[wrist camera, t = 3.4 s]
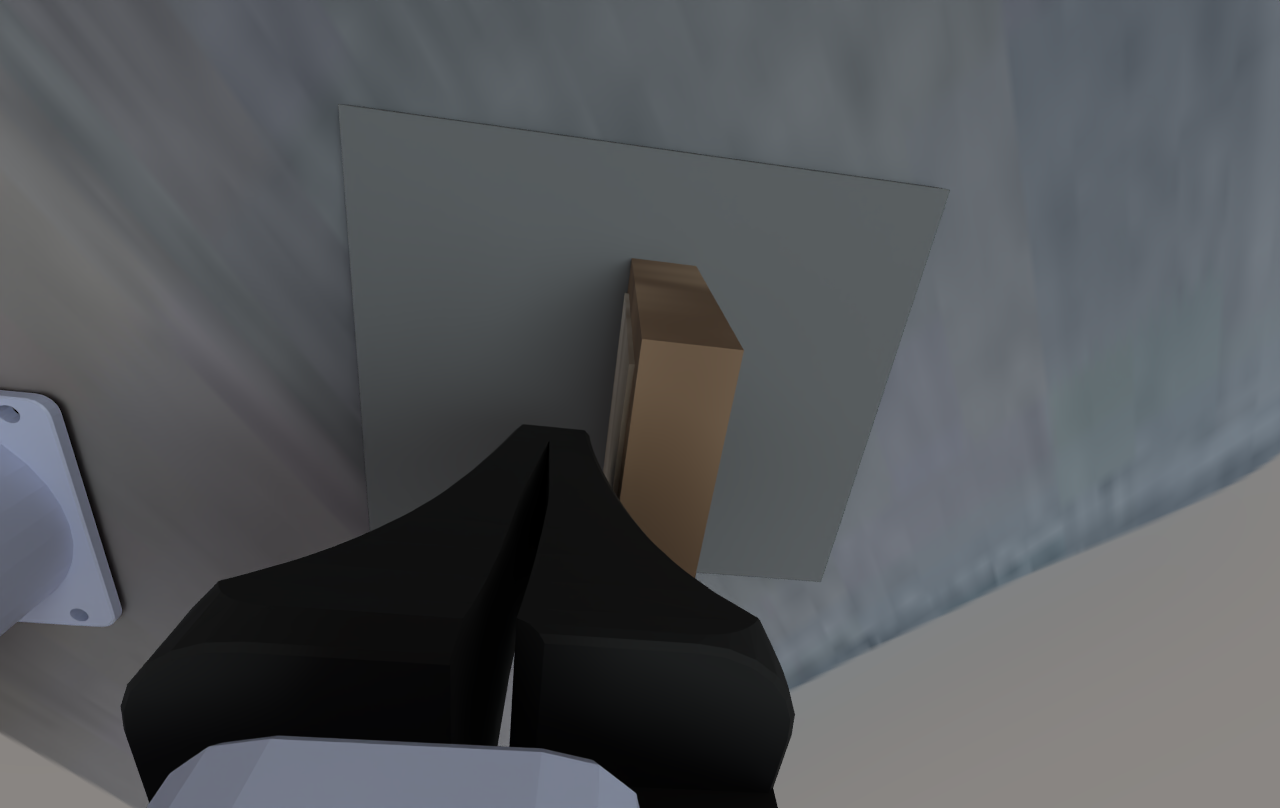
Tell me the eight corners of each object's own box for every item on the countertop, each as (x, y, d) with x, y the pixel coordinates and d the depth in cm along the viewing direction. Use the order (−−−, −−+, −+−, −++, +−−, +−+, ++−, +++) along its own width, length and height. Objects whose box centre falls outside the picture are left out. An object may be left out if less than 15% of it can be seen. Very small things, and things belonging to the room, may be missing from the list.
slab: (598, 497, 18) (591, 665, 12) (627, 257, 15) (636, 338, 9) (656, 502, 18) (675, 671, 12) (696, 266, 15) (744, 349, 9)
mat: (378, 535, 19) (371, 548, 18) (349, 105, 13) (338, 104, 13) (815, 569, 20) (821, 581, 19) (937, 187, 15) (949, 190, 14)
